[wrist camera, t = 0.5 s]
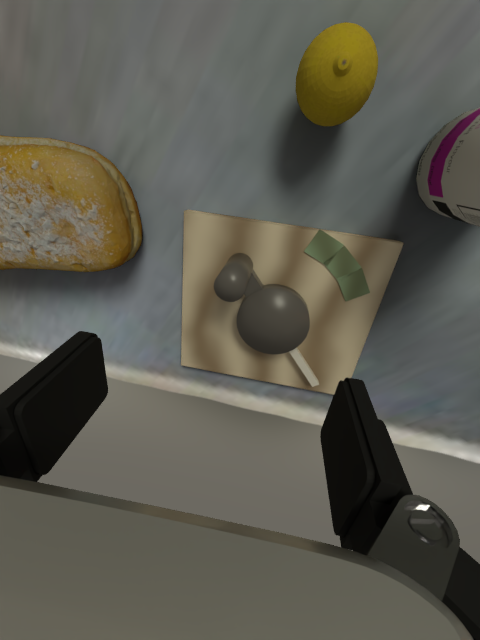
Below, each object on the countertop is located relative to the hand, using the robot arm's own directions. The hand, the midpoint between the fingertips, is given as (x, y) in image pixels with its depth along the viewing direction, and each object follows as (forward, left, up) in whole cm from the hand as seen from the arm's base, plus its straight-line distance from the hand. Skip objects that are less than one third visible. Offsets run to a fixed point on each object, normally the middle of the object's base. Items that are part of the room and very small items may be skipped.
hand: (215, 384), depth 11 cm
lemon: (-4, -14, -23) cm, 27 cm away
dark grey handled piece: (-3, +8, -21) cm, 23 cm away
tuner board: (-3, +7, -23) cm, 24 cm away
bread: (+26, -1, -23) cm, 35 cm away
